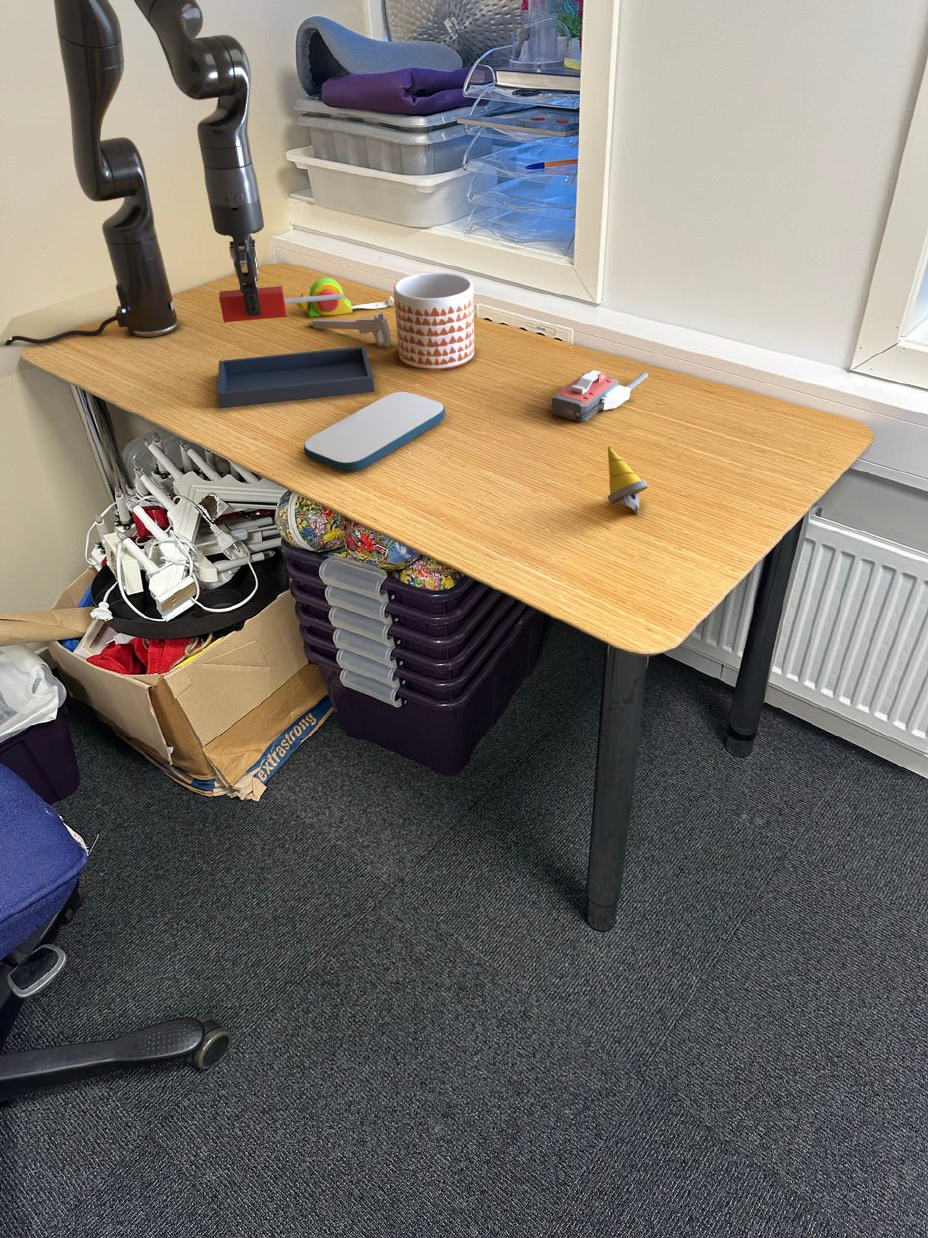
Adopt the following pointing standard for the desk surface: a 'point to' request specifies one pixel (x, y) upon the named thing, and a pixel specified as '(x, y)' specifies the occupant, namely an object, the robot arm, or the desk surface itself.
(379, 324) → the caliper
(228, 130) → the robot arm
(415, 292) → the planter
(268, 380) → the tray
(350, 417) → the external hard drive
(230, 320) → the screwdriver
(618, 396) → the walkie-talkie
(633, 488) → the yellow cone
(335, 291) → the toy measuring tape
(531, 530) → the desk surface
